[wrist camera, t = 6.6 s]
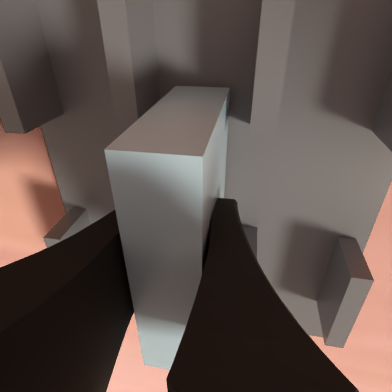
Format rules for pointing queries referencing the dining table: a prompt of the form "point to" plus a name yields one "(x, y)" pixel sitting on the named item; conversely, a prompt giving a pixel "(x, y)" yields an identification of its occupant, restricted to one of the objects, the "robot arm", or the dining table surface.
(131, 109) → the grey slotted organizer
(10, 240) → the dining table surface
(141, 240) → the grey rectangular block
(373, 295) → the dining table surface
